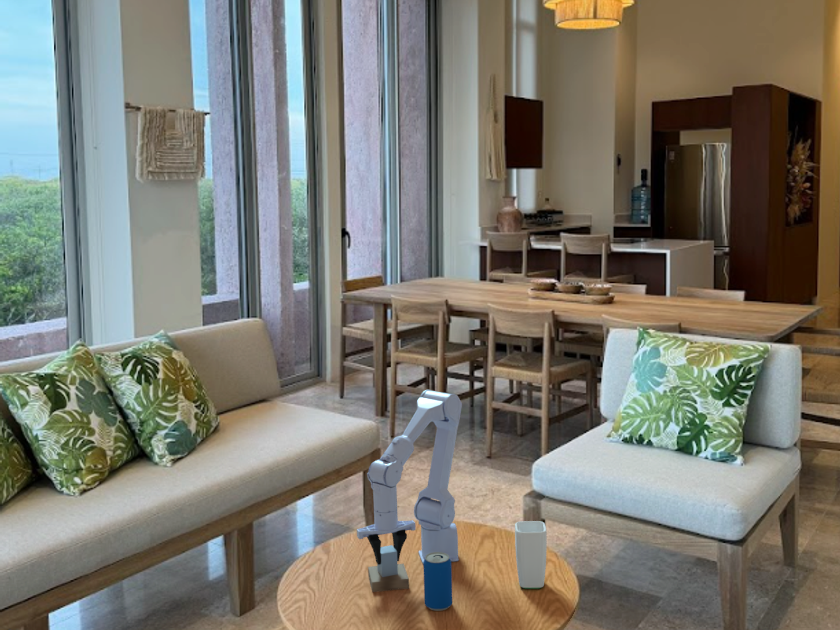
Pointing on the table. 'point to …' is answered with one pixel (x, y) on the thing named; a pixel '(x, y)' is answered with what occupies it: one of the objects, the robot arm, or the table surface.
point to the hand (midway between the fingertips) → (387, 561)
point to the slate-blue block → (388, 561)
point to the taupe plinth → (388, 579)
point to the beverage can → (437, 581)
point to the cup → (531, 553)
